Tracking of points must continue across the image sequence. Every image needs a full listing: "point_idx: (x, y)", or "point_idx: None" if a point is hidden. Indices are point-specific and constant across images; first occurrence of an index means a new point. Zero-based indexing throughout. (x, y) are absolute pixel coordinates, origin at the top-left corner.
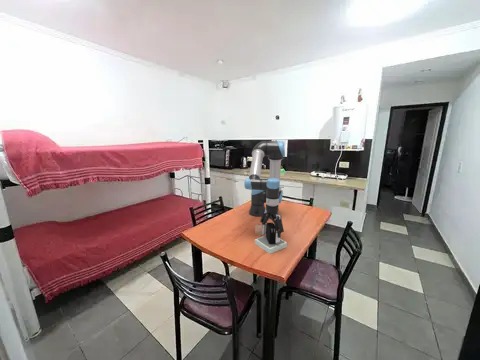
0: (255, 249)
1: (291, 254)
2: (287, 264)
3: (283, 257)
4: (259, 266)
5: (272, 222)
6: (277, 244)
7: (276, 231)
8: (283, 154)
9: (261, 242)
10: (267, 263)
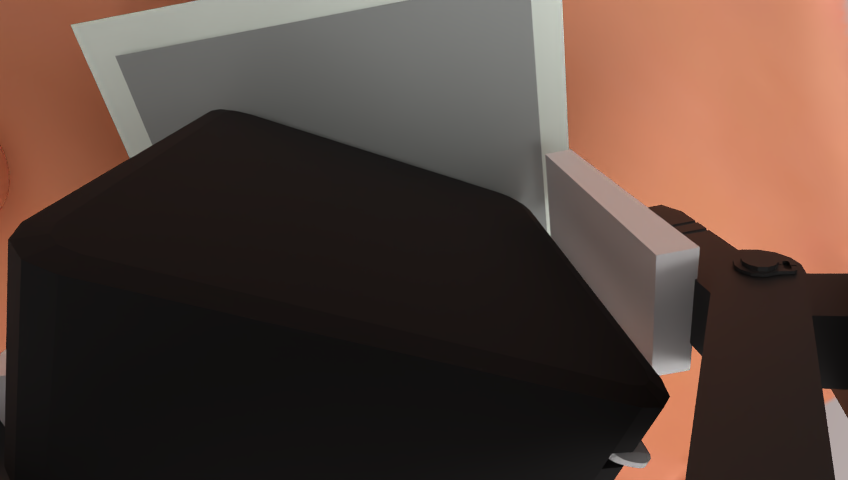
0: None
1: (732, 20)
2: (831, 216)
3: (708, 179)
4: (665, 458)
5: (32, 286)
6: (537, 173)
7: (643, 362)
8: None
9: None
10: (676, 386)
